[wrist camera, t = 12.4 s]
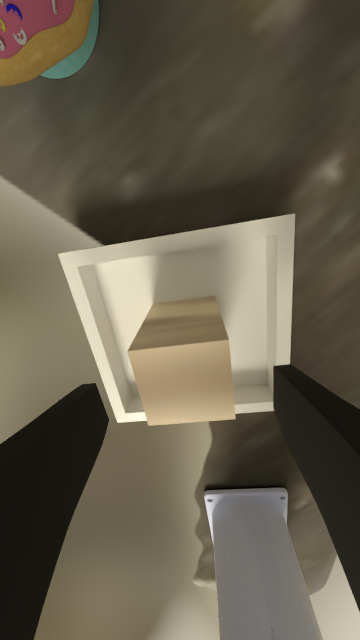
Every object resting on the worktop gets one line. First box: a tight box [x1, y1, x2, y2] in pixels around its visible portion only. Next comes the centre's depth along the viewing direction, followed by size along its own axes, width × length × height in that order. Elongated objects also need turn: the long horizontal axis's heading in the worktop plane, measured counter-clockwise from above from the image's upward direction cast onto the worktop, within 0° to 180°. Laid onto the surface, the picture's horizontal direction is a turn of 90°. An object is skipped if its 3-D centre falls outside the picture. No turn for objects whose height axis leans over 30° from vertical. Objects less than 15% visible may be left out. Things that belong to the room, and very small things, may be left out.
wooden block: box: [127, 296, 236, 425], centre depth 12 cm, size 4×4×6 cm
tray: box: [58, 214, 295, 423], centre depth 14 cm, size 12×12×2 cm
